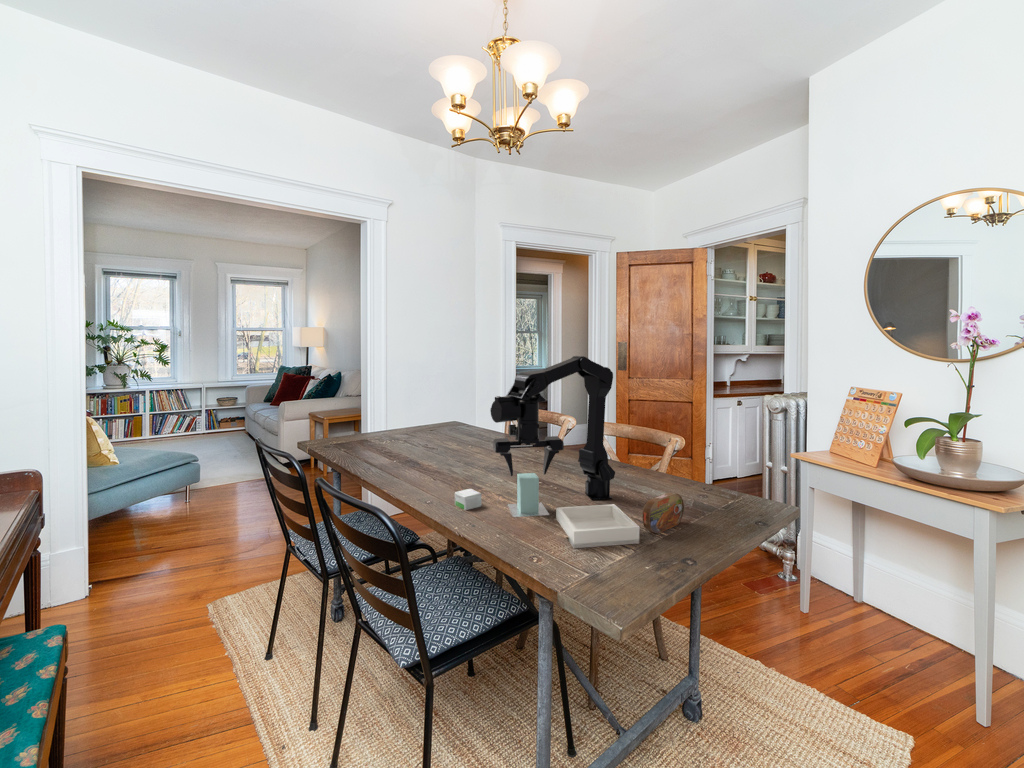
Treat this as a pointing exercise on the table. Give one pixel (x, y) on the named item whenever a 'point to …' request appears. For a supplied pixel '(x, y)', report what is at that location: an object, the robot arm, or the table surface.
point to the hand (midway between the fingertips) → (528, 475)
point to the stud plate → (516, 513)
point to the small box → (468, 499)
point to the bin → (597, 526)
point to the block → (528, 492)
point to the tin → (663, 512)
